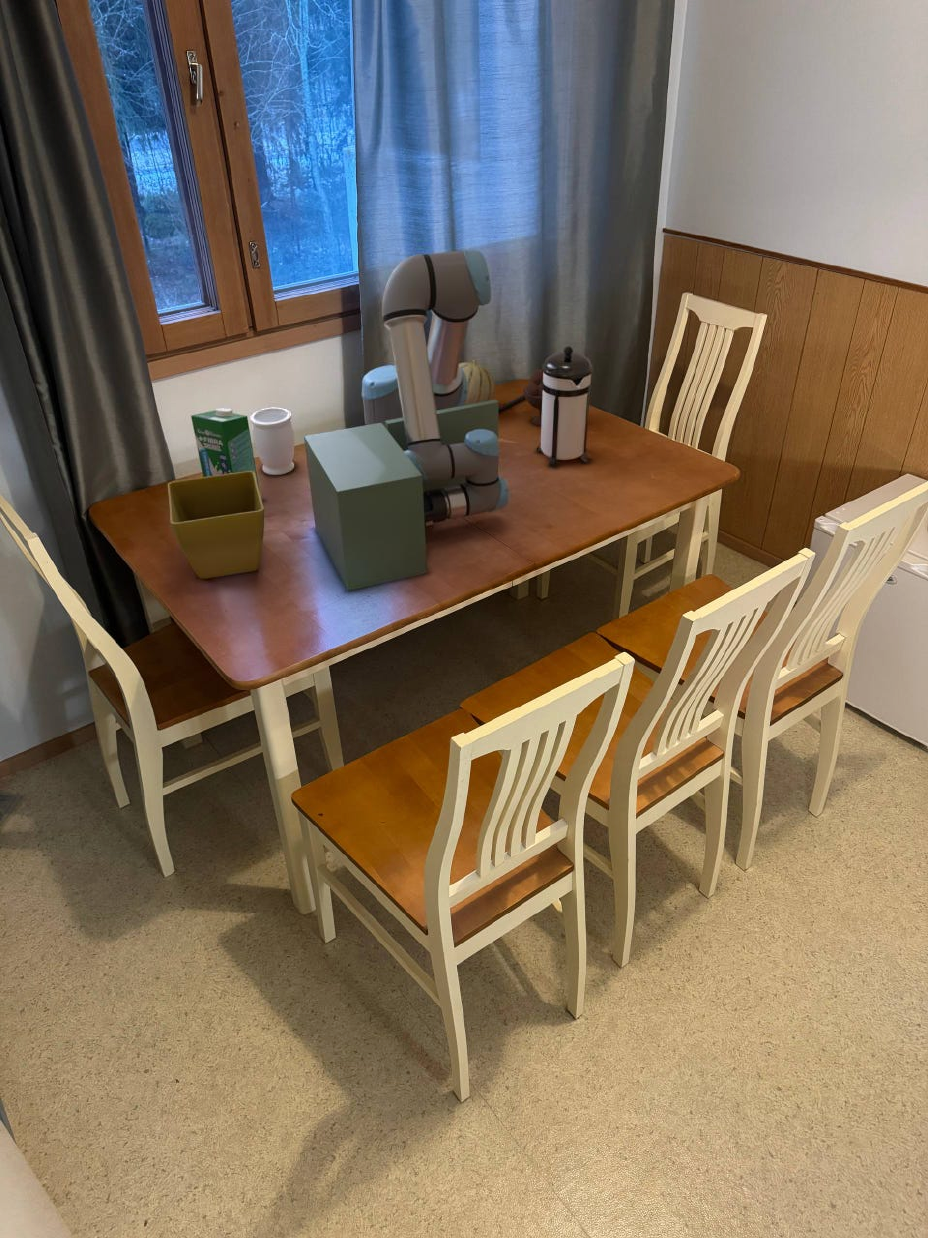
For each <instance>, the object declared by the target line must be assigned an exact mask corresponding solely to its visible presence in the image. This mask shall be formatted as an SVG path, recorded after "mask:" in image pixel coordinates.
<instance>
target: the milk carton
mask: <svg viewBox="0 0 928 1238" xmlns="http://www.w3.org/2000/svg"><path fill="white" fill-rule="evenodd" d="M190 418H191V423H192V428H193V434H194V438H195V442H196V448H197V452H198V457H199V462H200V463H199V464H200V468H201V472H202V473H201V474H202V477H209V476H216V475H223V474H230V473H237V472H244V471H254V472H255V475H256V480H257V484H258V488H259V489H260V485H259V478H258V474H257V467H256V462H255V461H256V460H255V455H254V450H253V449H254V448H253V443H252V436H251V430H250V425H249V419H248V415H243V414H240V413H239V414H238V413H233V409H232V408H228V407H217V408H214V410H210V411H206V412H202V413H197V414H196V413H195V414H192V415H190ZM259 492H260V493H261V491H260V490H259Z"/></svg>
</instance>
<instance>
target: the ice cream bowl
mask: <svg viewBox="0 0 928 1238" xmlns="http://www.w3.org/2000/svg"><path fill="white" fill-rule="evenodd" d="M542 380H543V371H542V368H540V369H537V370H535V371H534V372H533V373H532V375H531V377H530V381H529V383H527V385H526V386H525V388H524V389H523V390H522V391H523V395H524V396H525V398H524V399H525V400H526V402H527V403H528V404H529V405H530V406H531V407H532V408H534V409H536V410H538V416H535V417H534V418H533V419H532V420H531V421H532V423H533V425H535V426H539V427H541V423H542V397H543V389H542Z"/></svg>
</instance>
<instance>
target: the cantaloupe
mask: <svg viewBox="0 0 928 1238" xmlns="http://www.w3.org/2000/svg"><path fill="white" fill-rule="evenodd" d="M459 367H461V368H462V369H463V371H464V373H465V376H466V380H467V391H466V393H467V397H466V401H465V404H464V405H469V404H474V403H479V402H484V401H489V400H494V396H495V391H496V387H495V386H496V385H495V381H494V377H493V375H492V373H491V372H490V371H489V370H488V369H487V368H486V367H485V366H484V365H482V364H479V363H477V361H476V359H475V358H472V362H468V361H467V362H465V361H464V362H461V363H460V362H459Z"/></svg>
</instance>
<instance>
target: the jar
mask: <svg viewBox="0 0 928 1238" xmlns="http://www.w3.org/2000/svg"><path fill="white" fill-rule="evenodd" d="M249 419H250V423H251V424H252V439H253V443H254V447H255V449H256V453H257V456H258V458H259V461H260V462H261V464H262V468H261V470H262V472H264V473H265V474H267V475H269V476H270V475H272V476H281V475H285V474H287V473H290V472H291V471H293V469H294V468H295V462H293V459H294V455H295V433H294V428H293V424H292V421H291V420H292V412H291V411H290V410H288V409H286V408H283V407H267V408H262V409H259V410H256V411H254V412H253V413H252V414H251V415H250V418H249Z"/></svg>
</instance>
